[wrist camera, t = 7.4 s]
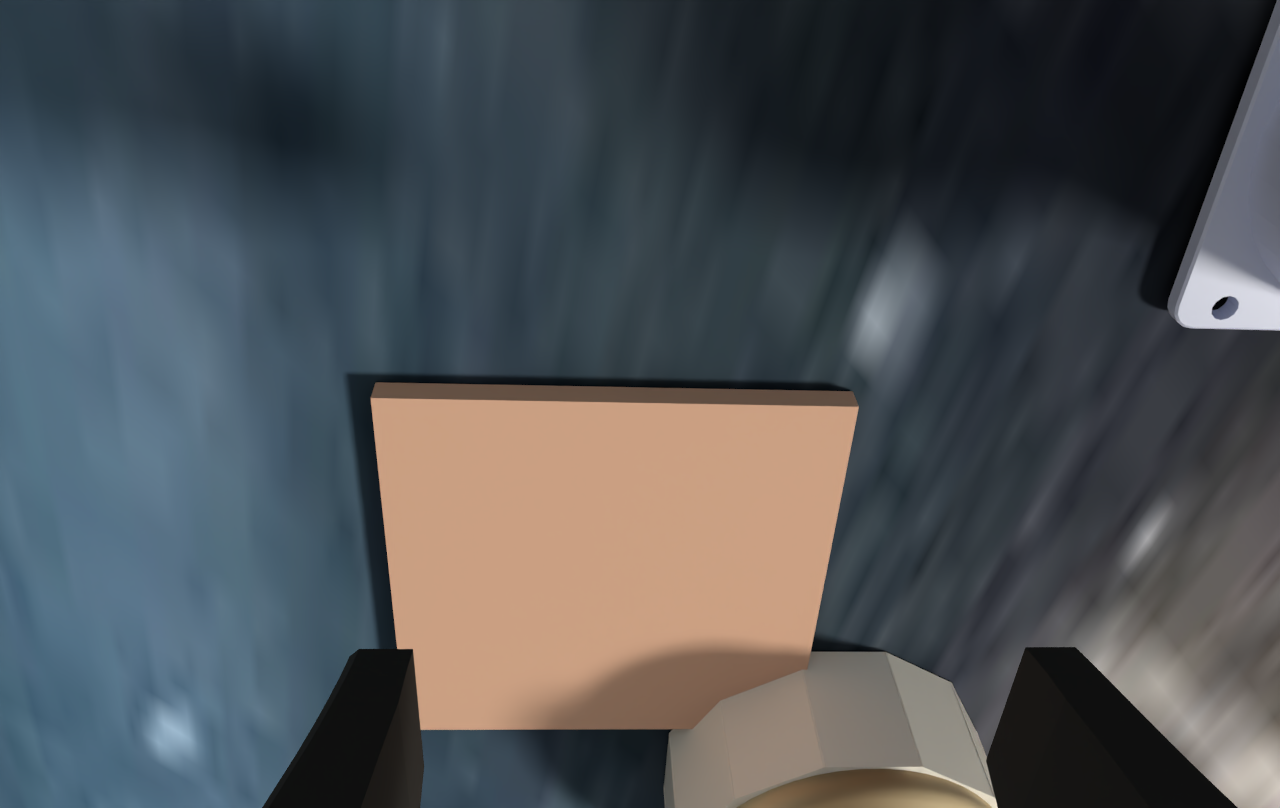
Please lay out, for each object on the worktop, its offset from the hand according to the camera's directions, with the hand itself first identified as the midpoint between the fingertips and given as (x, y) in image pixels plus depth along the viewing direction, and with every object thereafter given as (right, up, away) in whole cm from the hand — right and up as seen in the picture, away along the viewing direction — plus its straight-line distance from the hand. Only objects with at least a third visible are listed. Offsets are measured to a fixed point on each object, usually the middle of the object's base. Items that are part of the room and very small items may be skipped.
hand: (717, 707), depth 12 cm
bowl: (+4, -6, +16) cm, 18 cm away
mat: (-2, 0, +12) cm, 12 cm away
